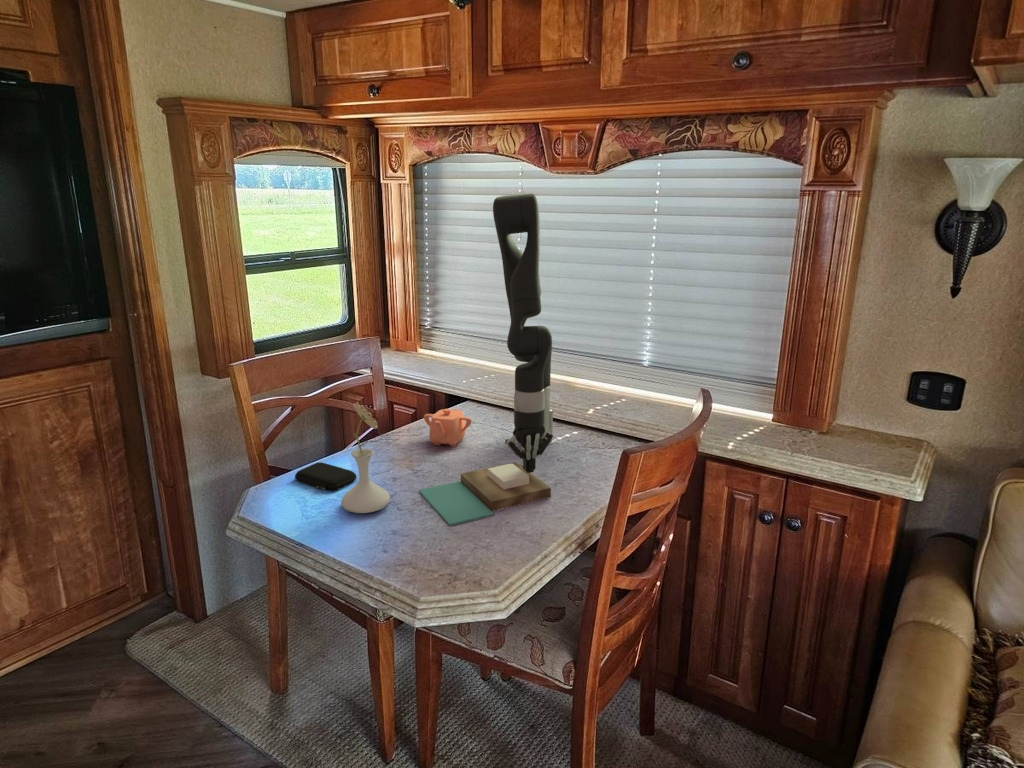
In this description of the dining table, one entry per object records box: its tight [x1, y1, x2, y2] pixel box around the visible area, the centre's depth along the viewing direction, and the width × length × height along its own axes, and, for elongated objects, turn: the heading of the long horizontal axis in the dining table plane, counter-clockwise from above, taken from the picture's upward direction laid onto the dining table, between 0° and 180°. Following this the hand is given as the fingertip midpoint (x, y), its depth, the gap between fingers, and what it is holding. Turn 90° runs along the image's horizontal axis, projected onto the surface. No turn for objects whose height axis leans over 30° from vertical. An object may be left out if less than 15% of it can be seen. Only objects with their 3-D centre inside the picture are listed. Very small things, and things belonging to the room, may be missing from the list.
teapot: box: [423, 408, 473, 448], centre depth 200 cm, size 14×12×10 cm
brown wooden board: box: [460, 461, 552, 512], centre depth 170 cm, size 16×18×2 cm
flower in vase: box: [340, 401, 391, 514], centre depth 159 cm, size 13×11×25 cm
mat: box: [418, 480, 495, 527], centre depth 163 cm, size 11×20×1 cm, turn 27°
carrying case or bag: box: [294, 461, 357, 492], centre depth 175 cm, size 11×3×15 cm
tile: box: [487, 463, 529, 489], centre depth 170 cm, size 7×9×2 cm
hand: (529, 471), depth 172 cm, fingers closed
